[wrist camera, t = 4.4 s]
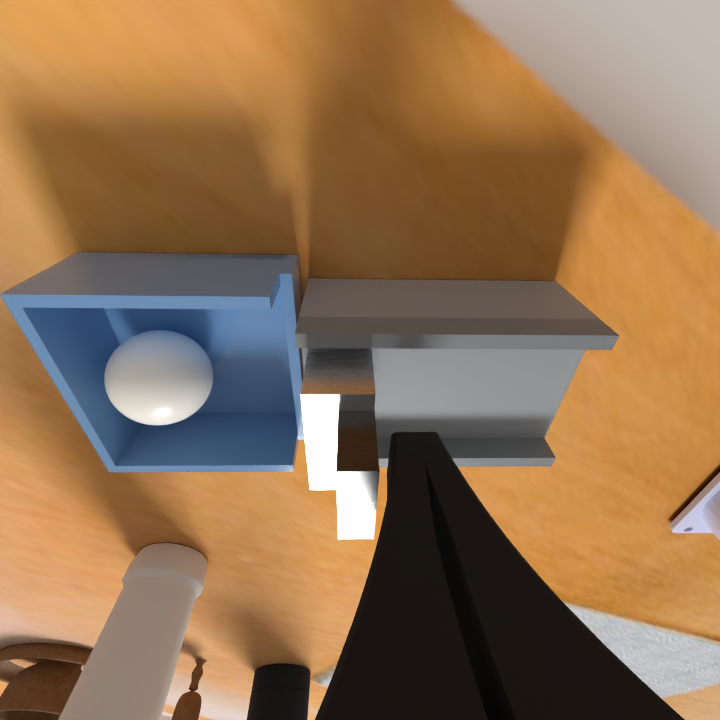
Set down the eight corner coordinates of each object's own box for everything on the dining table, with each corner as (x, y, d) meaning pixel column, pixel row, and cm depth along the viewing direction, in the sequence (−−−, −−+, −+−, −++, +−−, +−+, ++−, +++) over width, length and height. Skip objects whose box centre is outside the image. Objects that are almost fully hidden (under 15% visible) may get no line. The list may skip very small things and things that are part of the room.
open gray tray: (555, 281, 14) (619, 335, 10) (513, 398, 17) (551, 466, 14) (308, 278, 13) (294, 333, 10) (316, 397, 17) (307, 467, 14)
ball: (218, 316, 13) (166, 372, 11) (235, 388, 16) (195, 450, 13) (131, 309, 14) (58, 362, 11) (159, 380, 16) (103, 440, 13)
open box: (298, 254, 13) (283, 297, 10) (310, 411, 17) (303, 471, 15) (78, 252, 13) (0, 294, 10) (148, 411, 17) (109, 472, 14)
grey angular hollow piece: (371, 345, 11) (380, 454, 8) (367, 435, 14) (373, 550, 10) (309, 344, 11) (289, 454, 8) (315, 435, 14) (303, 550, 10)
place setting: (4, 615, 32) (-57, 705, 27) (221, 651, 38) (202, 728, 34) (-4, 669, 40) (-52, 745, 36) (175, 691, 47) (155, 758, 42)
